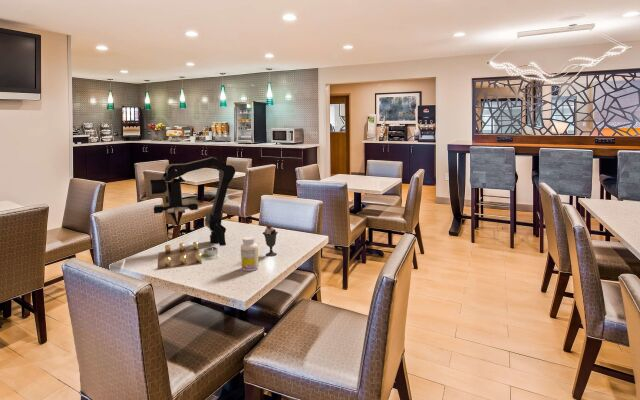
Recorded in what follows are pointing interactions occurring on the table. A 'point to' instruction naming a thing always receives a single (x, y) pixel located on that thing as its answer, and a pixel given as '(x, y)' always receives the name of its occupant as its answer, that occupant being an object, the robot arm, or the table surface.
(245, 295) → the table surface
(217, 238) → the robot arm
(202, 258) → the board
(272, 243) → the sundae
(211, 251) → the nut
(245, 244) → the supplement bottle
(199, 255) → the spacers
